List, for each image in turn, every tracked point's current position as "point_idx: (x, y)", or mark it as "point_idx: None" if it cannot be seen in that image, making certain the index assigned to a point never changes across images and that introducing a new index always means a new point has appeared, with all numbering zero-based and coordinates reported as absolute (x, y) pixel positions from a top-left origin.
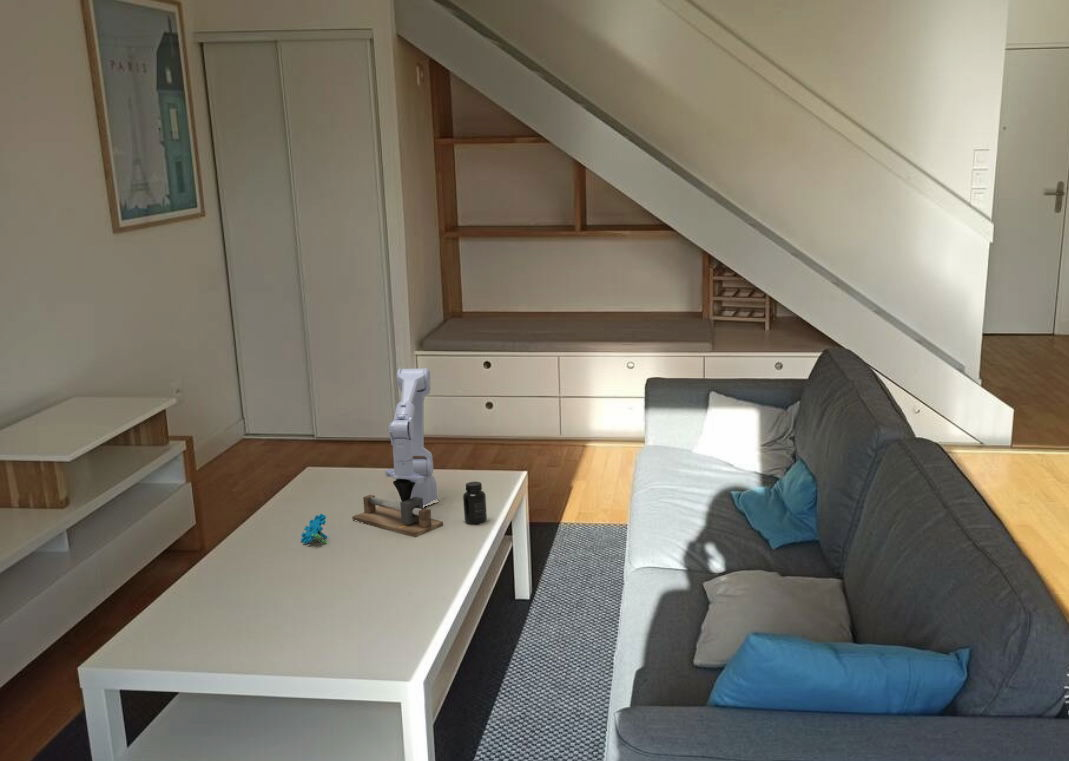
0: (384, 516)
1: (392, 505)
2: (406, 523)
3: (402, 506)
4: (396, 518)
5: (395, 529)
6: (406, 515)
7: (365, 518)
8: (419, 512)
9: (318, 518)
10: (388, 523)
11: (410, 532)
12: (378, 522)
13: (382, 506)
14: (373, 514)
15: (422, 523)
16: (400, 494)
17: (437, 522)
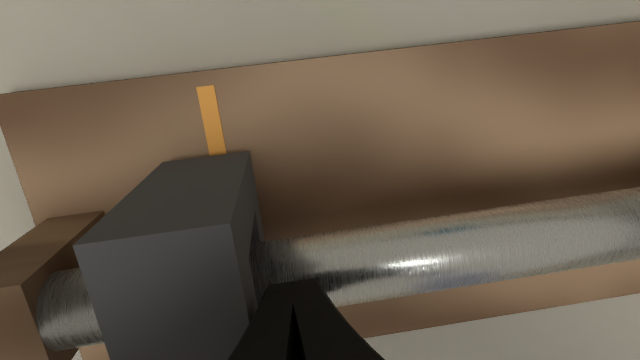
0: (516, 178)
1: (459, 227)
2: (188, 159)
3: (197, 207)
4: (408, 210)
5: (235, 67)
6: (164, 183)
7: (613, 52)
8: (15, 278)
9: None
10: (371, 101)
11: (46, 89)
12: (457, 61)
13: (580, 196)
14: (617, 151)
15: (46, 232)
16: (322, 340)
17: (100, 350)
